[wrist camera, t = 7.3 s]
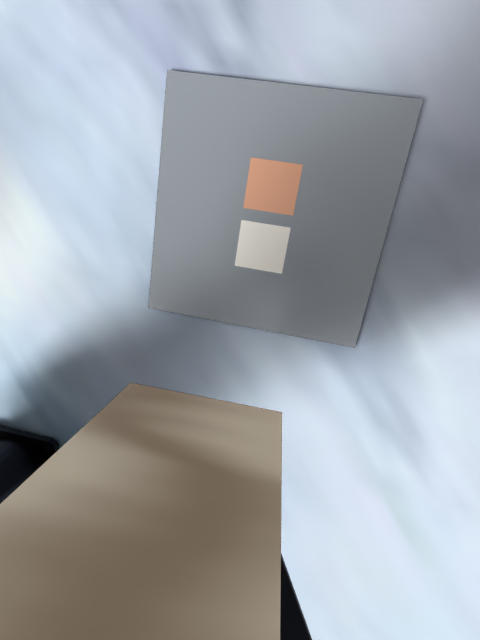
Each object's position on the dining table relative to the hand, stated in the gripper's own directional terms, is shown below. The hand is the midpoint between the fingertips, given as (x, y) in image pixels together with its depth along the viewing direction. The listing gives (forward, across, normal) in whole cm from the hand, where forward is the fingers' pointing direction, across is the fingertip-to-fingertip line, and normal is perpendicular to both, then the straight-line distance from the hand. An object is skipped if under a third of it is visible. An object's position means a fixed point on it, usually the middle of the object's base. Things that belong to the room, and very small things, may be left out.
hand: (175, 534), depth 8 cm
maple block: (+2, 0, 0) cm, 2 cm away
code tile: (+11, 0, -9) cm, 14 cm away
